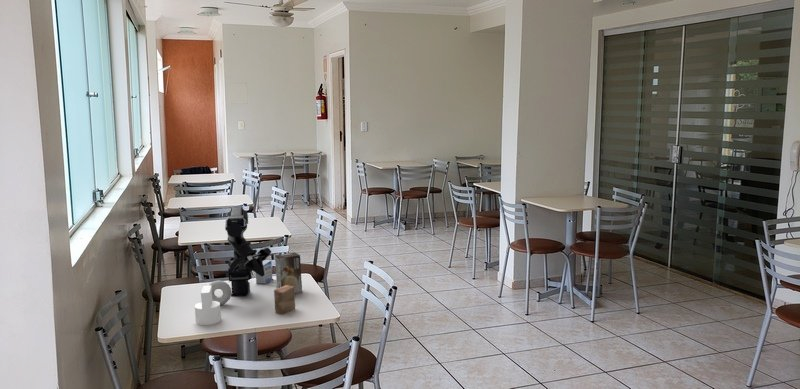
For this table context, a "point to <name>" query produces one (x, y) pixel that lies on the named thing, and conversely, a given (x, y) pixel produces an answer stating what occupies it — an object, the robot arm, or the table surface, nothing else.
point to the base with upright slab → (207, 308)
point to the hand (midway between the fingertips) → (263, 275)
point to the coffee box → (288, 271)
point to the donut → (224, 288)
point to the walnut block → (284, 299)
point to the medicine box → (267, 271)
